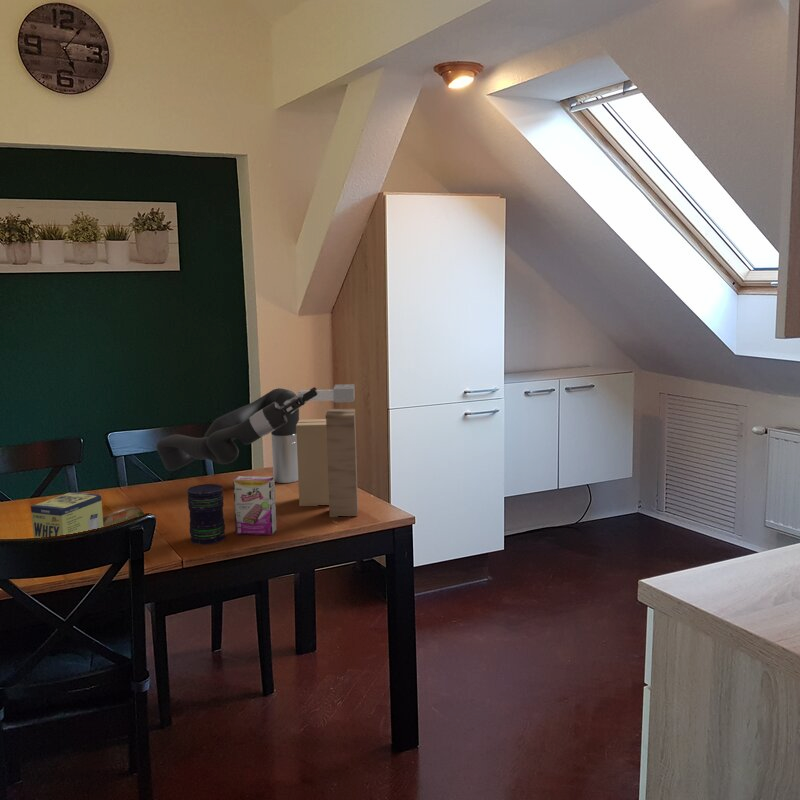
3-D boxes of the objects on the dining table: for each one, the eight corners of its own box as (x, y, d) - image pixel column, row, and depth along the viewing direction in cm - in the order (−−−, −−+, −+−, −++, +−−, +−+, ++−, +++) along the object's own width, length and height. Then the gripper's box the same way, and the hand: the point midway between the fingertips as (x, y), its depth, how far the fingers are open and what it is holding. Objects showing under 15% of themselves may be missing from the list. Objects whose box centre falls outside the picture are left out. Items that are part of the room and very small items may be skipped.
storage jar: (193, 534, 243) (190, 484, 240) (227, 533, 243) (224, 483, 241) (187, 546, 233) (184, 494, 230) (223, 544, 234) (220, 492, 231)
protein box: (34, 562, 222) (29, 505, 220) (77, 544, 237) (72, 490, 234) (65, 566, 219) (60, 509, 216) (106, 547, 233) (102, 493, 230)
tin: (105, 547, 234) (102, 518, 232) (97, 545, 235) (95, 516, 234) (147, 532, 246) (145, 504, 245) (139, 530, 248) (137, 503, 246)
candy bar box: (235, 535, 241) (232, 480, 239) (240, 529, 246) (237, 475, 244) (273, 535, 240) (270, 480, 238) (277, 530, 245) (274, 475, 243)
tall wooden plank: (331, 508, 266) (328, 409, 261) (358, 507, 267) (355, 408, 261) (329, 519, 255) (325, 415, 249) (357, 518, 255) (354, 415, 250)
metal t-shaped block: (300, 398, 260) (299, 385, 259) (354, 396, 260) (354, 384, 259) (296, 403, 250) (296, 390, 249) (353, 402, 250) (353, 388, 249)
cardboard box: (302, 497, 279) (299, 419, 275) (338, 496, 279) (335, 418, 275) (299, 506, 269) (296, 425, 265) (336, 505, 269) (333, 424, 265)
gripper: (277, 425, 263) (324, 397, 262) (271, 434, 249) (321, 404, 248) (264, 405, 262) (311, 377, 261) (258, 413, 248) (307, 383, 247)
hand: (316, 390), depth 254 cm, fingers closed on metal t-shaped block, 3 cm apart
